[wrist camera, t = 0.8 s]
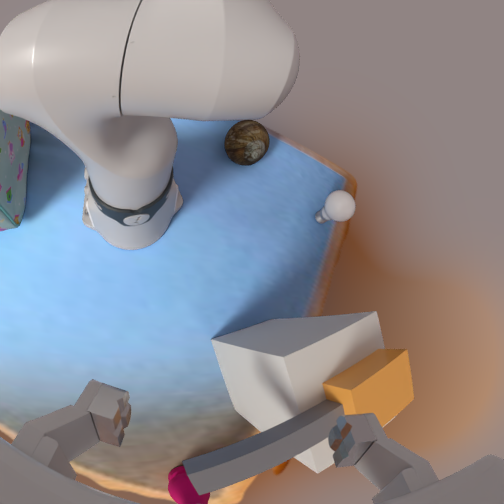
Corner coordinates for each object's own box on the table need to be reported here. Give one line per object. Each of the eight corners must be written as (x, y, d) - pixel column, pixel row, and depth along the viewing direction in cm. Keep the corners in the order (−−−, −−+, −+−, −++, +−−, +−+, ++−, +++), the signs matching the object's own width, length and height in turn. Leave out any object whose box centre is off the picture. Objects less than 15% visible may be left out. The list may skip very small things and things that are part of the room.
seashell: (233, 176, 54) (247, 156, 47) (211, 142, 54) (222, 118, 47) (274, 160, 59) (291, 141, 52) (252, 129, 59) (266, 108, 52)
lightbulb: (304, 203, 59) (334, 182, 49) (327, 207, 62) (358, 188, 52) (308, 231, 58) (340, 213, 48) (331, 233, 60) (364, 217, 50)
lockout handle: (173, 444, 16) (181, 467, 13) (378, 348, 26) (407, 349, 22) (200, 494, 16) (212, 519, 12) (386, 394, 25) (414, 398, 21)
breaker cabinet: (211, 339, 45) (283, 357, 22) (275, 317, 50) (380, 308, 27) (234, 409, 43) (317, 473, 20) (294, 383, 48) (399, 412, 25)
